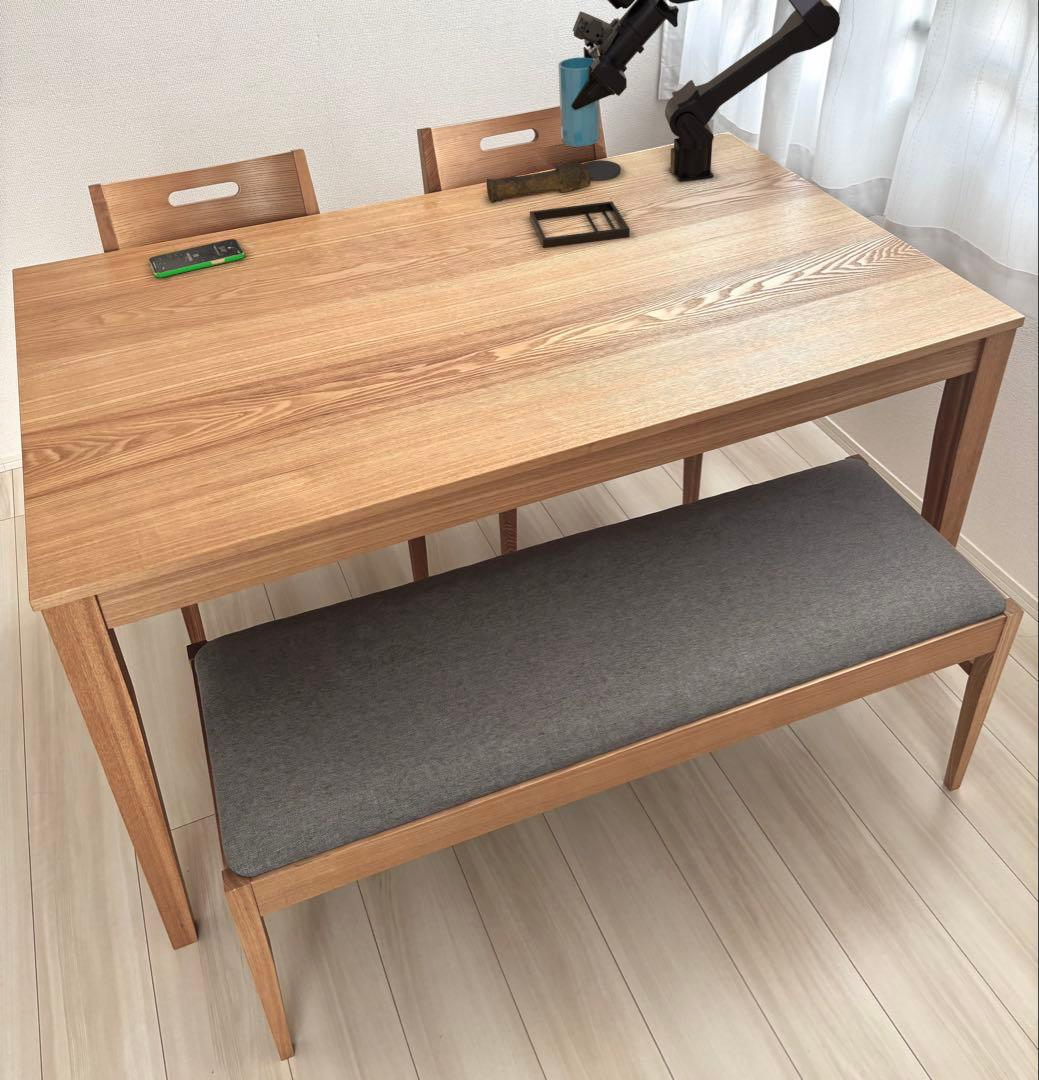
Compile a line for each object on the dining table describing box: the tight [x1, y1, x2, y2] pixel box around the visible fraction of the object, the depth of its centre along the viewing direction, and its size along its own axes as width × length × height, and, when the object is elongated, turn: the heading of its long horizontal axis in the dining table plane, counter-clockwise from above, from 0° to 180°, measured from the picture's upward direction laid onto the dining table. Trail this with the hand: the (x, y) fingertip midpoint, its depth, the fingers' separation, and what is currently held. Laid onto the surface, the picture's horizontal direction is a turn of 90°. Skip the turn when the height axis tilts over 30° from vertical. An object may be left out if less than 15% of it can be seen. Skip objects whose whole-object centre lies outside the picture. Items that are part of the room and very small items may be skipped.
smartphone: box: [148, 238, 246, 279], centre depth 175 cm, size 8×1×15 cm
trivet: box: [583, 159, 622, 182], centre depth 195 cm, size 8×8×1 cm
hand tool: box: [486, 162, 591, 203], centre depth 188 cm, size 19×4×5 cm, turn 101°
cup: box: [557, 56, 601, 147], centre depth 184 cm, size 7×7×13 cm
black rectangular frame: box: [529, 201, 630, 249], centre depth 177 cm, size 15×12×2 cm
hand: (571, 101), depth 184 cm, fingers closed on cup, 7 cm apart
